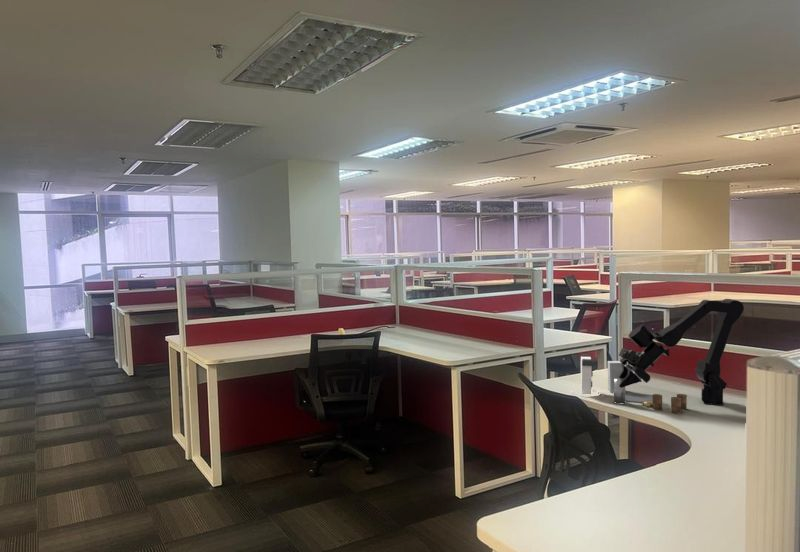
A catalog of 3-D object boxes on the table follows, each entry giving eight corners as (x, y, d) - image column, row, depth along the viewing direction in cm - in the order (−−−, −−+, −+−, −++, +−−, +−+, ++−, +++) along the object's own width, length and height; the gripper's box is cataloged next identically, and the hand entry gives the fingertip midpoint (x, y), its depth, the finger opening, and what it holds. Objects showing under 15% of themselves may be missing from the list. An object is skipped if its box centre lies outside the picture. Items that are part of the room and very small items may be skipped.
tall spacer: (625, 401, 218) (625, 378, 217) (624, 404, 214) (624, 380, 213) (614, 400, 219) (614, 377, 219) (613, 403, 216) (613, 379, 215)
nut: (654, 405, 213) (654, 401, 213) (654, 408, 209) (654, 404, 209) (642, 404, 214) (642, 400, 214) (642, 407, 211) (642, 403, 211)
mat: (654, 395, 225) (654, 394, 225) (654, 404, 214) (654, 403, 214) (621, 393, 229) (621, 392, 229) (619, 401, 218) (619, 400, 218)
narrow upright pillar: (602, 398, 223) (602, 360, 222) (571, 396, 226) (571, 359, 225) (599, 390, 234) (599, 354, 233) (570, 389, 237) (570, 353, 236)
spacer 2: (680, 411, 204) (680, 397, 204) (681, 413, 201) (681, 399, 201) (670, 410, 206) (670, 396, 205) (671, 412, 203) (671, 398, 202)
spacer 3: (686, 407, 208) (686, 394, 208) (686, 410, 205) (686, 396, 205) (676, 407, 209) (676, 393, 209) (676, 409, 206) (676, 395, 206)
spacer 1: (662, 408, 209) (662, 394, 208) (662, 410, 206) (662, 396, 205) (652, 407, 210) (652, 393, 210) (652, 409, 207) (652, 395, 207)
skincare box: (622, 389, 235) (622, 360, 234) (625, 392, 230) (625, 362, 230) (607, 389, 235) (607, 360, 235) (610, 392, 231) (610, 362, 230)
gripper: (625, 337, 224) (596, 365, 226) (641, 345, 205) (609, 376, 207) (645, 356, 224) (616, 384, 225) (664, 367, 205) (632, 397, 207)
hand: (618, 385), depth 216 cm, fingers closed on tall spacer, 4 cm apart
